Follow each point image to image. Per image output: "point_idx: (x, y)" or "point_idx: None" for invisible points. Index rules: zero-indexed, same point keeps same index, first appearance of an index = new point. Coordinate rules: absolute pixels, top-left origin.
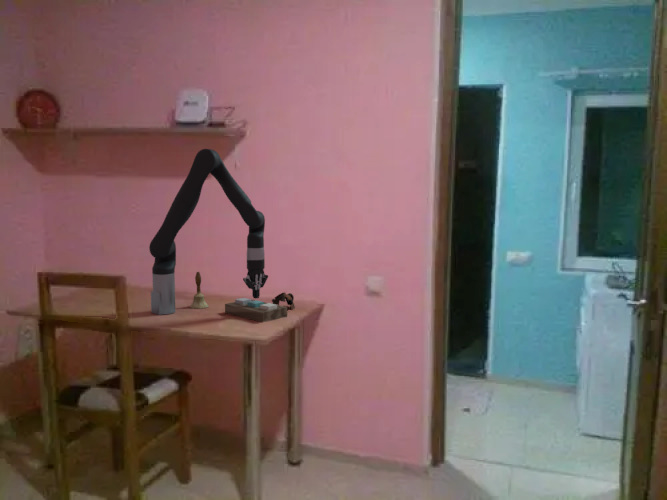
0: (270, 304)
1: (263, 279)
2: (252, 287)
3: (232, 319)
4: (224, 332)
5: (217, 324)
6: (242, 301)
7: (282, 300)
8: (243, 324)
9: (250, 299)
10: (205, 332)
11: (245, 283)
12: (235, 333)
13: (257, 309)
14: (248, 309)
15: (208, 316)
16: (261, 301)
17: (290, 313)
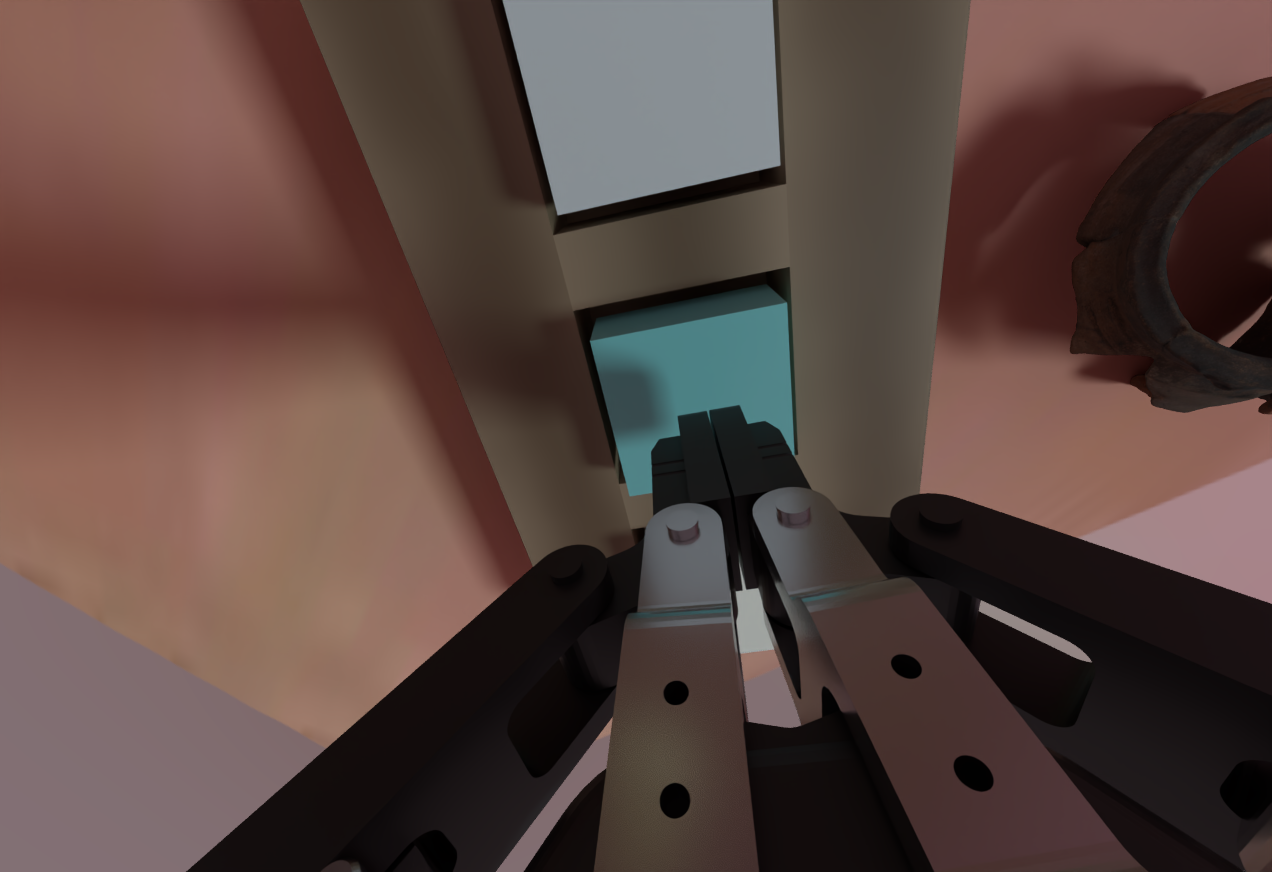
0: (757, 605)
1: (1190, 793)
2: (578, 689)
3: (371, 384)
4: (226, 653)
5: (189, 465)
6: (556, 204)
7: (1163, 394)
8: (414, 569)
9: (756, 165)
10: (80, 599)
11: (367, 714)
12: (296, 694)
13: None
14: (508, 504)
15: (78, 47)
16: (791, 422)
17: (977, 492)
